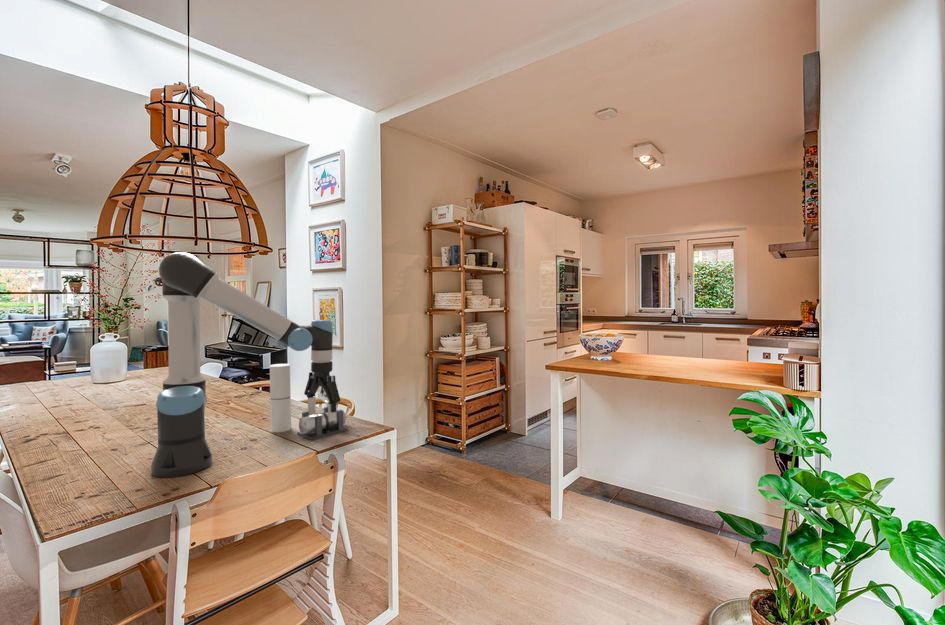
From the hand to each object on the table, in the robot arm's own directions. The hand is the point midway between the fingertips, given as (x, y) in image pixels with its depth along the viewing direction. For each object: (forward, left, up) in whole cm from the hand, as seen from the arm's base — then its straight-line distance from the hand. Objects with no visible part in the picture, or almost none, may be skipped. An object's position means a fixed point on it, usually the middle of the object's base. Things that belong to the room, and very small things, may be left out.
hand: (321, 417), depth 162 cm
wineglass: (+9, +11, -6) cm, 16 cm away
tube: (+1, 0, -4) cm, 5 cm away
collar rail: (0, 0, -6) cm, 6 cm away
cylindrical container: (-8, +16, -6) cm, 19 cm away
